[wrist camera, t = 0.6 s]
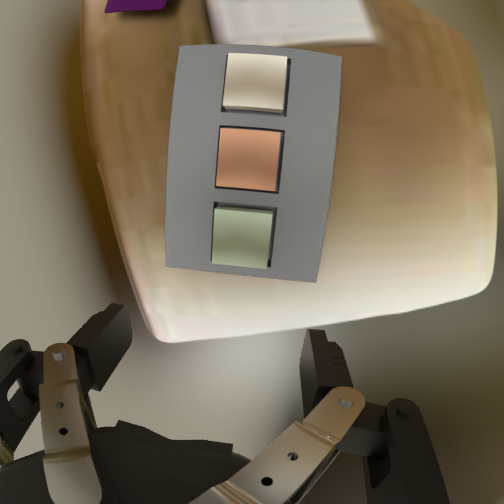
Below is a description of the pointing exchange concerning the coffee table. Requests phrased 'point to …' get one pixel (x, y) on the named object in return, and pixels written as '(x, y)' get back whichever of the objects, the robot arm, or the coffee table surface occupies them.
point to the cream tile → (255, 82)
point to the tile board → (289, 161)
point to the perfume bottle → (134, 5)
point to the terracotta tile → (248, 159)
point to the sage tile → (241, 236)
